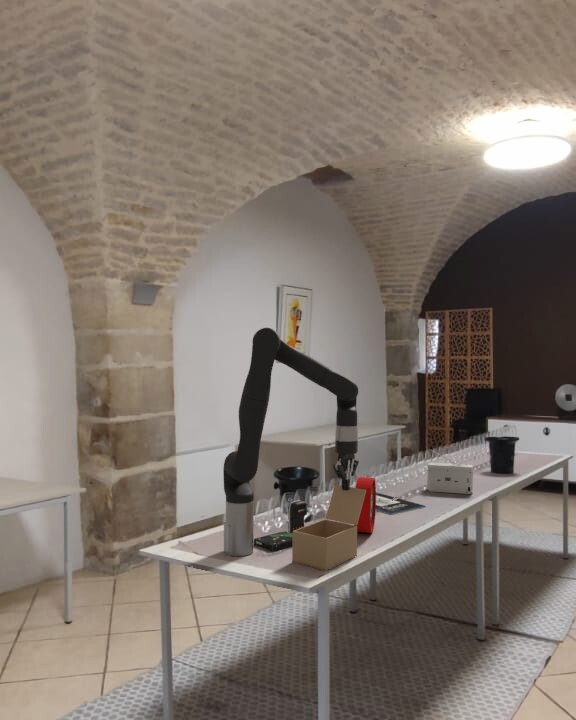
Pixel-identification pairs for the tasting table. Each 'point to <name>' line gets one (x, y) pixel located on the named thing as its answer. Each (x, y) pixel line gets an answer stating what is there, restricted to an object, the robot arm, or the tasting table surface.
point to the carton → (324, 544)
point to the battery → (296, 515)
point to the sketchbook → (394, 504)
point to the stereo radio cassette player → (450, 477)
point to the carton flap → (346, 505)
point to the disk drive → (275, 541)
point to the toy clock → (367, 504)
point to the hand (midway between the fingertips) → (345, 490)
